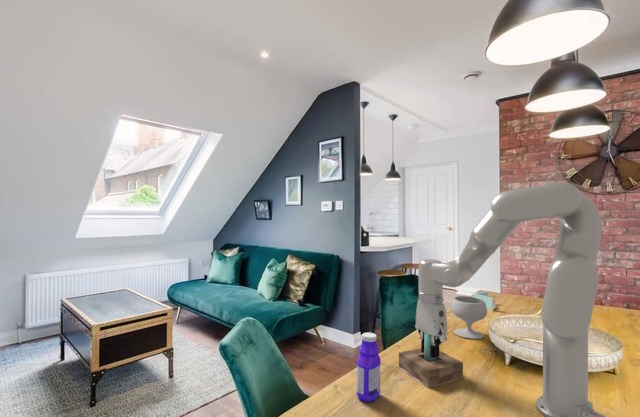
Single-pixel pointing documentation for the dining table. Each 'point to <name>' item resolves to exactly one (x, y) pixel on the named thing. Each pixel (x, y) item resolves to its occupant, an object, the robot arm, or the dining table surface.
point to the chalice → (469, 315)
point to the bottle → (368, 369)
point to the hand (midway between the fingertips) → (430, 353)
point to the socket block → (430, 368)
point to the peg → (428, 347)
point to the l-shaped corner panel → (485, 299)
